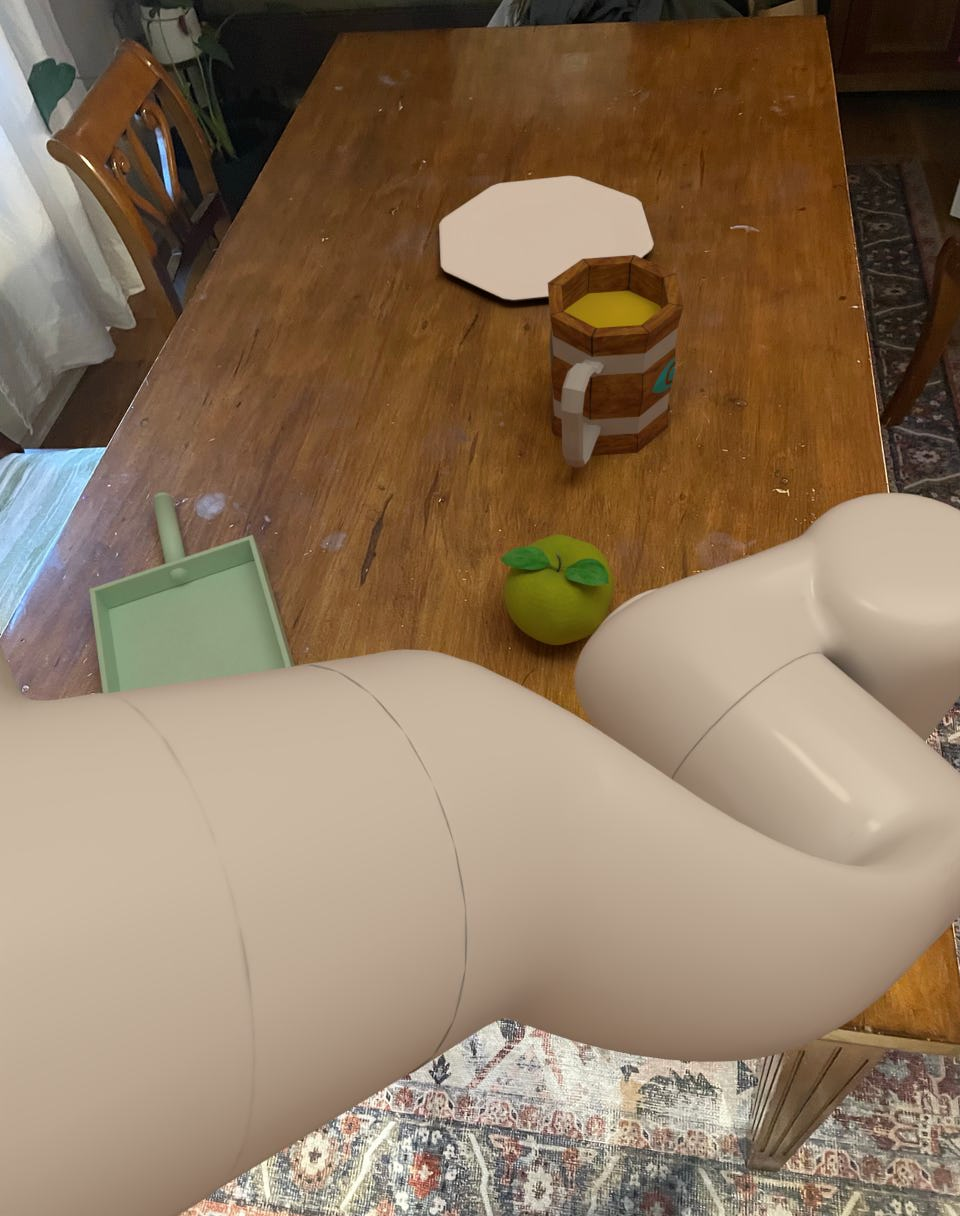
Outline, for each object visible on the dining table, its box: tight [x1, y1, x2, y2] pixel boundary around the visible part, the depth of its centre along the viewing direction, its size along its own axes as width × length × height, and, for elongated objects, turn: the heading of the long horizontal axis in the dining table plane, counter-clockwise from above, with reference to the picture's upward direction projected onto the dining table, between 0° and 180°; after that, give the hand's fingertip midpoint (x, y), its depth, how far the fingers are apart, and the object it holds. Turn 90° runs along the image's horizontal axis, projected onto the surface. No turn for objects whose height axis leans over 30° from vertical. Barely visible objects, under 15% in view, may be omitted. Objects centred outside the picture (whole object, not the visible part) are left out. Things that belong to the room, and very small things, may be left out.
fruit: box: [501, 533, 615, 646], centre depth 74 cm, size 9×9×10 cm
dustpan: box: [88, 491, 296, 694], centre depth 81 cm, size 28×16×3 cm, turn 21°
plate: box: [438, 175, 655, 302], centre depth 113 cm, size 28×28×2 cm
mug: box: [548, 255, 685, 468], centre depth 86 cm, size 20×14×15 cm
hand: (760, 847), depth 53 cm, fingers open, 9 cm apart
